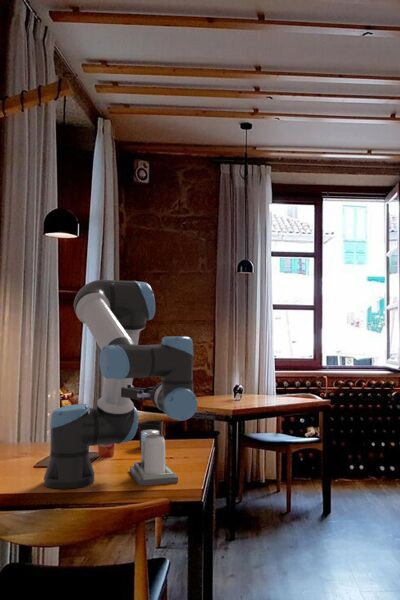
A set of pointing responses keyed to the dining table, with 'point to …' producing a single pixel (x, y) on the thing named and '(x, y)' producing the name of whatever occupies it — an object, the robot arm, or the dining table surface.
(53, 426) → the robot arm
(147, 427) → the pen holder
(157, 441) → the can
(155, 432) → the seated cylinder
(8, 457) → the dining table surface
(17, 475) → the dining table surface
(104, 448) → the paper cup
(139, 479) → the pocket board
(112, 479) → the dining table surface
